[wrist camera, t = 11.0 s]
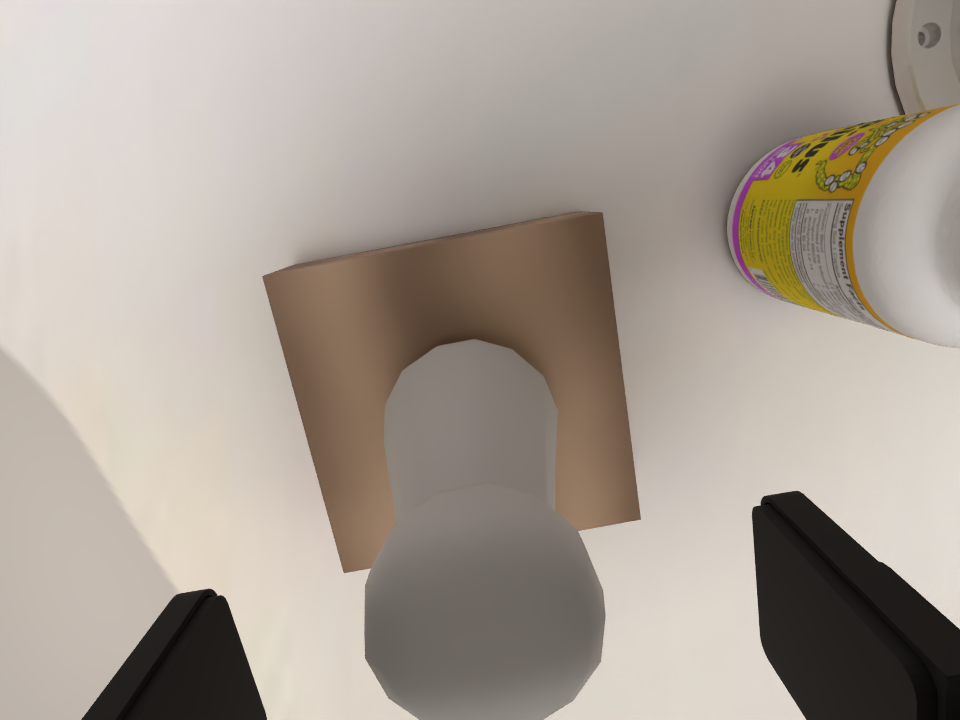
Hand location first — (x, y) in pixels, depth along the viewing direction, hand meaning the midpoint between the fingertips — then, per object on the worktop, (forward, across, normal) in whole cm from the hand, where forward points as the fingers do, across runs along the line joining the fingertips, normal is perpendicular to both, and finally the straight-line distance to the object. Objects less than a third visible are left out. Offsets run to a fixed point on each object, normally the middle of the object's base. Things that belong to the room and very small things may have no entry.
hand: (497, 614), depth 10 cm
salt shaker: (+12, +1, 0) cm, 12 cm away
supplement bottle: (+17, -14, -4) cm, 22 cm away
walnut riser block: (+16, +1, 0) cm, 16 cm away
